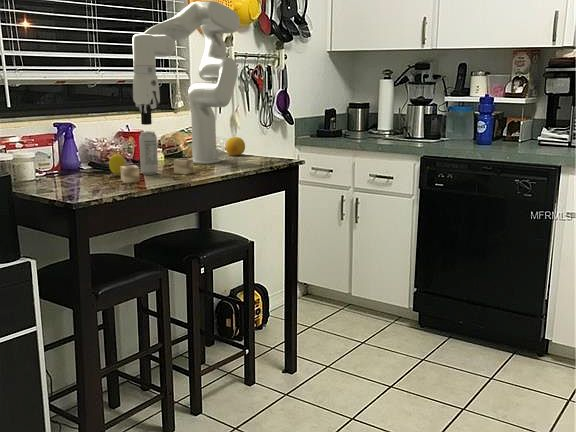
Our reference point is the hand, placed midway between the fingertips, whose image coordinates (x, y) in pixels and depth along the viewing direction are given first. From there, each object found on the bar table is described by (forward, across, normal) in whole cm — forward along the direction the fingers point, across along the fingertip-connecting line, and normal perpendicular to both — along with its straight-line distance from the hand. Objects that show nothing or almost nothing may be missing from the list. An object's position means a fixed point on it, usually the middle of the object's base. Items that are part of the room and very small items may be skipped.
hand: (146, 124), depth 221 cm
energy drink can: (+18, 0, -1) cm, 18 cm away
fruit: (+17, +11, -54) cm, 57 cm away
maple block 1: (+18, -7, +12) cm, 23 cm away
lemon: (+18, +5, +9) cm, 21 cm away
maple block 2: (+18, -7, -11) cm, 22 cm away
